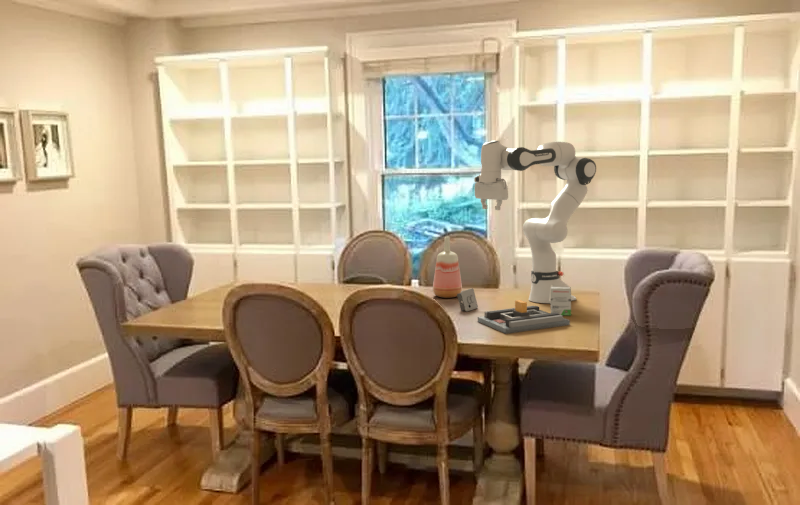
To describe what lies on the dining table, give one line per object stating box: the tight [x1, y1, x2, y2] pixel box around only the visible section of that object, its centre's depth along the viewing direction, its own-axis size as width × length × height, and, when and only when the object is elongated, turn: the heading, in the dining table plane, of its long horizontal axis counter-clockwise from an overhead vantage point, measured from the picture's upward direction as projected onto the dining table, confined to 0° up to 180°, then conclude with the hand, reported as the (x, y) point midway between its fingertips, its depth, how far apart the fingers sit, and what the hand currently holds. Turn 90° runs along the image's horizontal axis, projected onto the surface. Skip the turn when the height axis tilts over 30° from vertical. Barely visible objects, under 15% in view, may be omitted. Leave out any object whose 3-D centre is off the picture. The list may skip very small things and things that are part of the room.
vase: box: [432, 236, 463, 299], centre depth 327 cm, size 14×14×30 cm
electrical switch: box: [457, 287, 479, 312], centre depth 300 cm, size 9×5×9 cm, turn 141°
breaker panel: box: [477, 309, 571, 334], centre depth 273 cm, size 30×22×4 cm
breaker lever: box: [513, 299, 529, 317], centre depth 272 cm, size 4×6×7 cm, turn 23°
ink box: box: [550, 286, 572, 316], centre depth 286 cm, size 9×5×12 cm, turn 76°
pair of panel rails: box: [483, 305, 564, 328], centre depth 272 cm, size 24×21×2 cm
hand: (491, 209), depth 295 cm, fingers open, 8 cm apart
